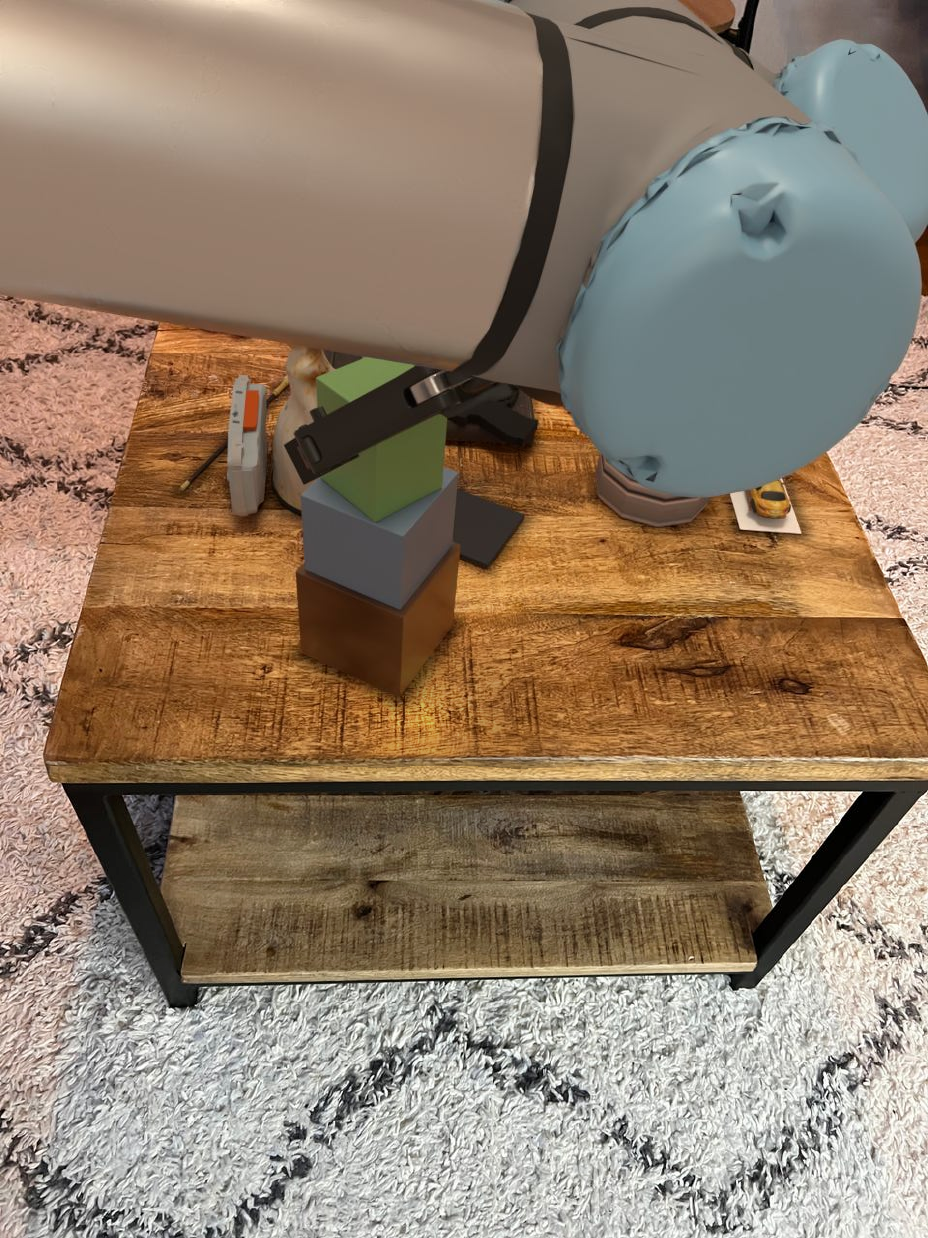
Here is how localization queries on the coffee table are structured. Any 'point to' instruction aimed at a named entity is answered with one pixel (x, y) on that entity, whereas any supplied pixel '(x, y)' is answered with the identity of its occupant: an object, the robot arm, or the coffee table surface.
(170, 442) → the coffee table surface
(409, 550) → the blue block
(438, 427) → the green block
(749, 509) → the toy car
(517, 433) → the toy gun
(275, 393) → the brush
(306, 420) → the figurine
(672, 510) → the can
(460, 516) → the rubber pad
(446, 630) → the block
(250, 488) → the handheld gaming console
